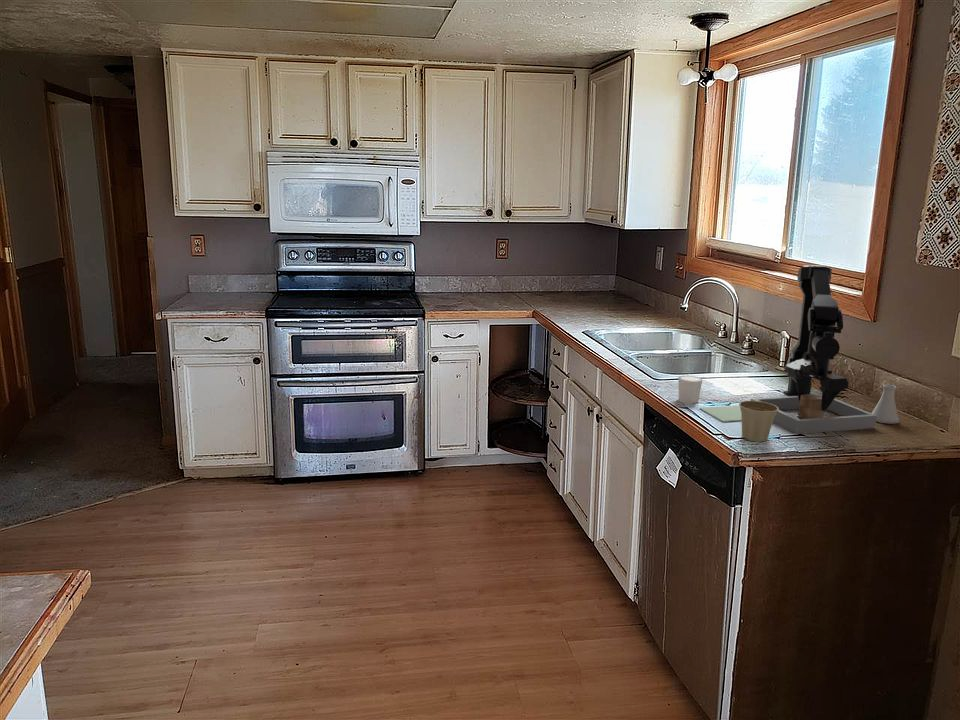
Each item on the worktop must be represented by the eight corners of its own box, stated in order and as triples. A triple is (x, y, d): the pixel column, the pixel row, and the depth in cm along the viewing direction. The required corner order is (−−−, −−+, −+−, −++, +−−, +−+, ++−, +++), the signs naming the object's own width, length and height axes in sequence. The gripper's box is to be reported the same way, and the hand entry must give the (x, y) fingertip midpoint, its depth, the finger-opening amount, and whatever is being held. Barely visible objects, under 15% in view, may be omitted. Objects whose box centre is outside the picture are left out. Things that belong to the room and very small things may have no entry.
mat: (699, 409, 211) (699, 407, 211) (736, 406, 214) (736, 405, 214) (722, 422, 200) (723, 420, 200) (761, 419, 203) (761, 418, 203)
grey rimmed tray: (749, 410, 211) (751, 398, 210) (822, 405, 217) (824, 394, 216) (796, 433, 192) (797, 421, 191) (874, 428, 198) (876, 415, 197)
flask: (889, 416, 208) (895, 382, 206) (904, 424, 201) (910, 389, 199) (864, 416, 208) (869, 382, 206) (878, 424, 201) (884, 389, 199)
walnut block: (797, 417, 206) (800, 394, 205) (811, 416, 207) (814, 393, 206) (808, 422, 202) (811, 399, 200) (822, 421, 203) (825, 398, 201)
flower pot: (763, 431, 193) (766, 400, 191) (782, 444, 184) (786, 411, 182) (729, 432, 192) (732, 400, 190) (746, 445, 183) (750, 411, 181)
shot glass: (684, 396, 224) (686, 374, 222) (704, 401, 219) (706, 378, 217) (671, 400, 219) (673, 377, 217) (692, 405, 214) (694, 382, 213)
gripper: (772, 344, 207) (765, 397, 210) (817, 359, 189) (809, 417, 193) (806, 342, 210) (799, 395, 213) (854, 358, 192) (845, 415, 196)
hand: (812, 405), depth 204 cm, fingers open, 9 cm apart
